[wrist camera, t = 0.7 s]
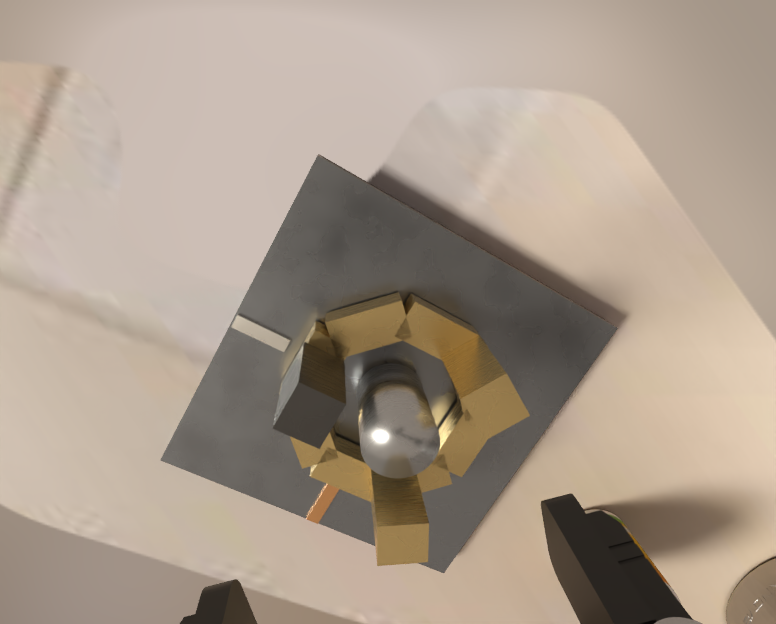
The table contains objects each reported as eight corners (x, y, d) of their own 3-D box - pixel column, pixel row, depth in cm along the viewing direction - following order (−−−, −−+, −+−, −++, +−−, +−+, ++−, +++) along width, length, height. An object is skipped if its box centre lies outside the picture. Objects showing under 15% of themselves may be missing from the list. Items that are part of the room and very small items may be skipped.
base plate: (605, 320, 34) (672, 365, 27) (439, 556, 38) (461, 645, 31) (318, 154, 29) (314, 159, 22) (167, 446, 33) (126, 523, 27)
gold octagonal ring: (527, 355, 32) (575, 408, 26) (423, 509, 35) (444, 591, 28) (346, 258, 29) (349, 291, 23) (248, 434, 32) (227, 507, 26)
